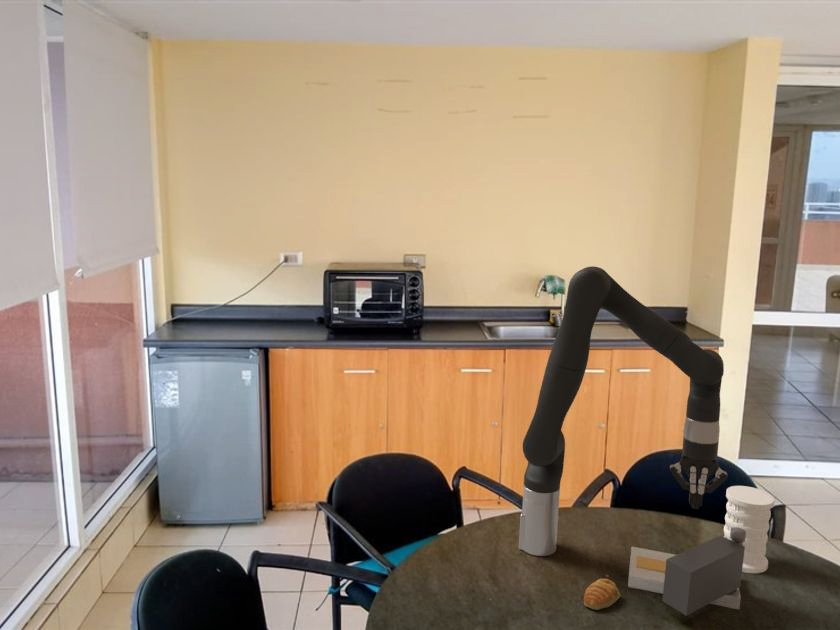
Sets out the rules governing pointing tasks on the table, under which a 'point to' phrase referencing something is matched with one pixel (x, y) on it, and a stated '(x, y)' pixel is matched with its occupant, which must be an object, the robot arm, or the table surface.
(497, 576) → the table surface
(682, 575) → the grey block with knob
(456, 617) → the table surface
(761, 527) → the decorative container
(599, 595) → the pastry
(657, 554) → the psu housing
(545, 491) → the robot arm
